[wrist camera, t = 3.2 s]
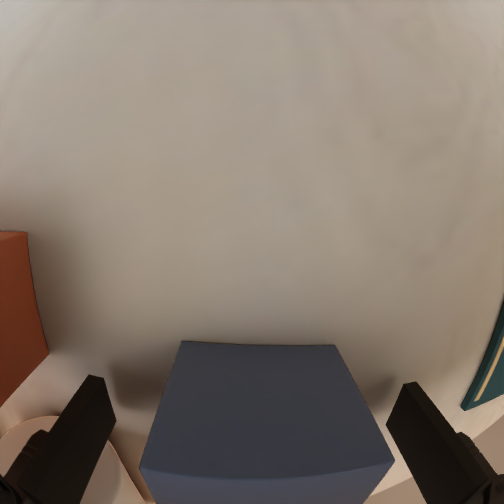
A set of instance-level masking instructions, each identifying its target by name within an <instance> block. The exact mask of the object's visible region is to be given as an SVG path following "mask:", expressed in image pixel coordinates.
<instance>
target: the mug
mask: <svg viewBox="0 0 504 504" xmlns="http://www.w3.org/2000/svg"><path fill="white" fill-rule="evenodd" d="M58 418H59V416H43V417H37V418H33V419H29V420H26V421H24V422H22V423H19V424H18V425H16V426H14V427H13V428H11V429H10V430H9V431H7V432H6V433H5V434H4V435H3V436H2V438H1V439H0V474H1V475H2V476H3V477H4V476H5V474H6V473H7V471H8V470H9V468H10V467H11V465H12V464H13V462H14V460H15V459H16V457H17V456H18V454H19V453H20V452H21V450H22V448H23V447H24V445H25V446H26V443H27V441H28V440H29V438H30V437H31V435H33V434H34V433H36V432H37V431H38V430H40V429H42V430H45V431H47V432H49V431H50V429H51V428H52V426H53V425H54V423H55V422H56V421H57V419H58ZM80 504H146V503H145V501H144V499H143V498H142V496H141V495H140V493H139V492H138V490H137V488H136V487H135V485H134V483H133V482H132V480H131V478H130V476H129V475H128V473H127V471H126V469H125V467H124V466H123V464H122V462H121V460H120V458H119V456H118V454H117V452H116V450H115V449H114V447H113V445H112V444H111V443H110V441H109V440H107V442H106V445H105V447H104V449H103V451H102V453H101V456H100V458H99V460H98V462H97V465H96V467H95V469H94V471H93V474H92V476H91V478H90V481H89V483H88V485H87V488H86V490H85V492H84V495H83V497H82V500H81V502H80Z"/></svg>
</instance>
